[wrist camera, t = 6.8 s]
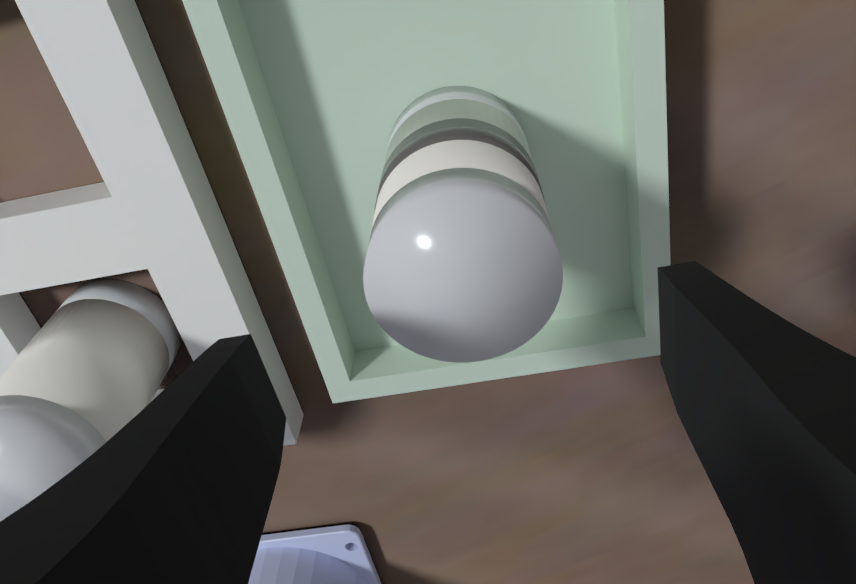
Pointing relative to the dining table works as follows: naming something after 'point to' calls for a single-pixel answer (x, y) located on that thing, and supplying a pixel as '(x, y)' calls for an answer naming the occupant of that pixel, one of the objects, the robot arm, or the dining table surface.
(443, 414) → the dining table surface
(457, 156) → the cylinder
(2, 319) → the fuse holder
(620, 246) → the parts tray
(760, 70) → the dining table surface
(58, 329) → the cylinder
